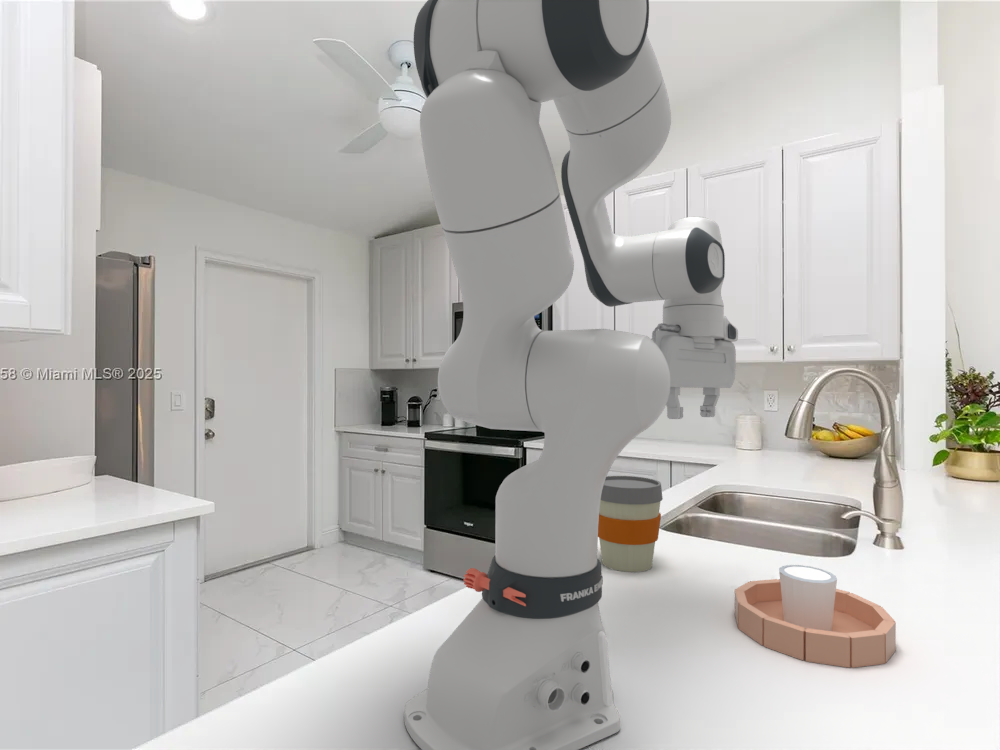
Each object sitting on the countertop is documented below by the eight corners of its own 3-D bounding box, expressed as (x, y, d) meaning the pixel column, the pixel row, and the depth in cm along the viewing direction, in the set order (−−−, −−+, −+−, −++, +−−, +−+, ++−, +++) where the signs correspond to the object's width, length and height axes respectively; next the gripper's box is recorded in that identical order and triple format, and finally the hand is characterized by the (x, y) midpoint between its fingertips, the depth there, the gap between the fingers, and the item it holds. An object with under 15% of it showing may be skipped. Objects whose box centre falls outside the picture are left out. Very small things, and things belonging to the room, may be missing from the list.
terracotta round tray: (869, 684, 60) (869, 652, 60) (712, 627, 74) (712, 602, 74) (908, 633, 72) (908, 607, 72) (767, 593, 86) (767, 570, 86)
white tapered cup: (845, 639, 69) (845, 584, 69) (786, 633, 71) (786, 579, 71) (826, 616, 76) (826, 566, 76) (773, 611, 77) (773, 562, 77)
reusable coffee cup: (677, 566, 98) (677, 483, 98) (629, 581, 91) (629, 491, 91) (624, 548, 108) (625, 473, 108) (578, 560, 101) (578, 479, 101)
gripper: (673, 319, 74) (673, 421, 74) (743, 331, 87) (743, 417, 87) (634, 323, 79) (634, 418, 78) (706, 333, 92) (706, 415, 92)
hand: (692, 418), depth 83 cm, fingers open, 8 cm apart
